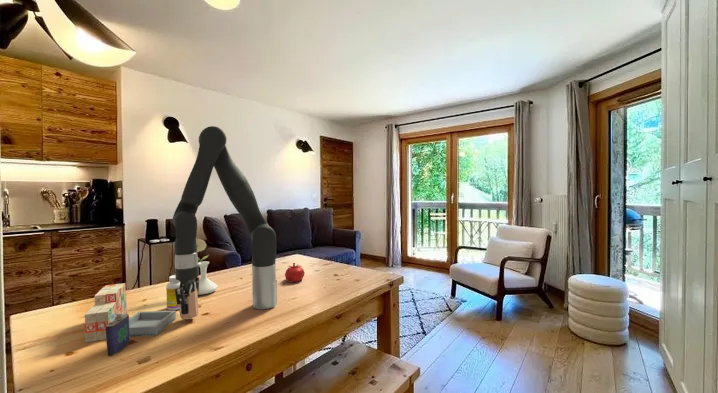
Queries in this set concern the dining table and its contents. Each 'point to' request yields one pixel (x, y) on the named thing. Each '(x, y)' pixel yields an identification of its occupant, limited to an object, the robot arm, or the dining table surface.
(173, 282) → the supplement bottle
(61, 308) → the dining table surface
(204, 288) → the flower in vase
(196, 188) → the robot arm
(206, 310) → the dining table surface
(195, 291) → the beaker
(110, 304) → the stack of blocks
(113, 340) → the flask
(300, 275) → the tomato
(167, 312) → the tray
